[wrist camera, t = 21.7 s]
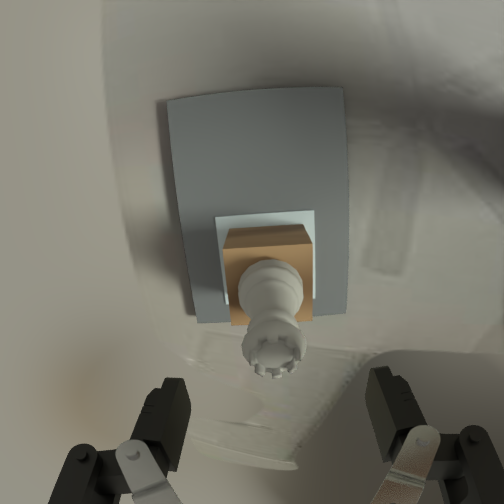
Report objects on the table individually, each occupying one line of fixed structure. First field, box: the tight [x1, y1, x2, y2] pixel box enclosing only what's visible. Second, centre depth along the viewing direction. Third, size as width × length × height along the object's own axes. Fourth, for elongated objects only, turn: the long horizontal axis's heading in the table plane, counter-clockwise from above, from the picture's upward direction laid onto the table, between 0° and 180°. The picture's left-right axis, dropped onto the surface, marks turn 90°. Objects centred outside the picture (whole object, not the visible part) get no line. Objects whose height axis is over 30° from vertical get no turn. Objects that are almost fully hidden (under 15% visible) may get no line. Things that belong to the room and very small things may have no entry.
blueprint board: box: [167, 87, 349, 323], centre depth 26 cm, size 20×14×1 cm
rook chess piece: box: [238, 259, 306, 379], centre depth 18 cm, size 4×4×8 cm
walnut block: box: [222, 224, 313, 325], centre depth 24 cm, size 6×6×5 cm
